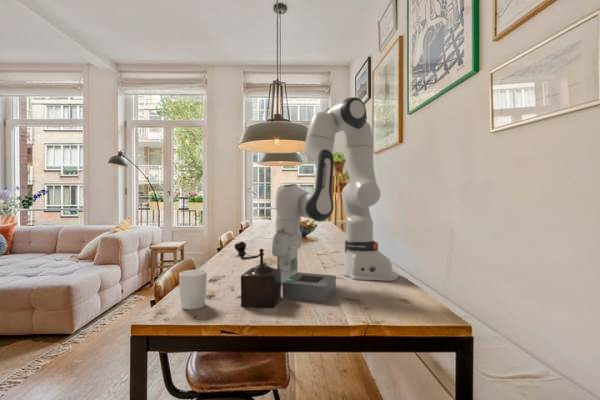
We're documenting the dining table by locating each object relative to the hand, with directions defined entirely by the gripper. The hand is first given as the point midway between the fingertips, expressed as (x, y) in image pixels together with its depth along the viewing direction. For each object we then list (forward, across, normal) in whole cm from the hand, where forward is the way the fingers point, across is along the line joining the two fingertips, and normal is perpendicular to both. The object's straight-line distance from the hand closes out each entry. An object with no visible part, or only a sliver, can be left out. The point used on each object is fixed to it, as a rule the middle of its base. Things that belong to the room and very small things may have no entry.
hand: (287, 264), depth 117 cm
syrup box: (+7, 0, 0) cm, 7 cm away
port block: (+7, -9, -12) cm, 17 cm away
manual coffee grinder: (+7, -22, +2) cm, 23 cm away
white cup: (+7, -32, +17) cm, 37 cm away
